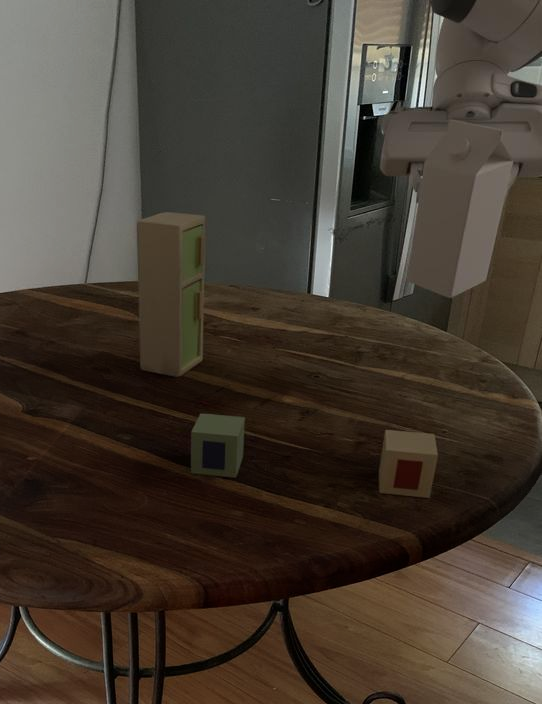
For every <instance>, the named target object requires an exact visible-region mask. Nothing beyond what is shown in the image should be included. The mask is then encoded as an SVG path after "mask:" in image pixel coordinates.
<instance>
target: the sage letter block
mask: <svg viewBox="0 0 542 704" xmlns="http://www.w3.org/2000/svg"><path fill="white" fill-rule="evenodd" d="M245 419H246V418H245V416H235V415H223V414H212V413H200V414H199V415H198V417H197V420H196V422H195V423H194V426H193V428H192V430H191V432H190V474H197V475H206V476H216V477H225V478H234V479H236V478H237V476H238V473H239V470H240V468H241V465H242V461H243V458H244V443H245V442H244V441H245V439H244V438H245V421H246V420H245Z"/></svg>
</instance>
